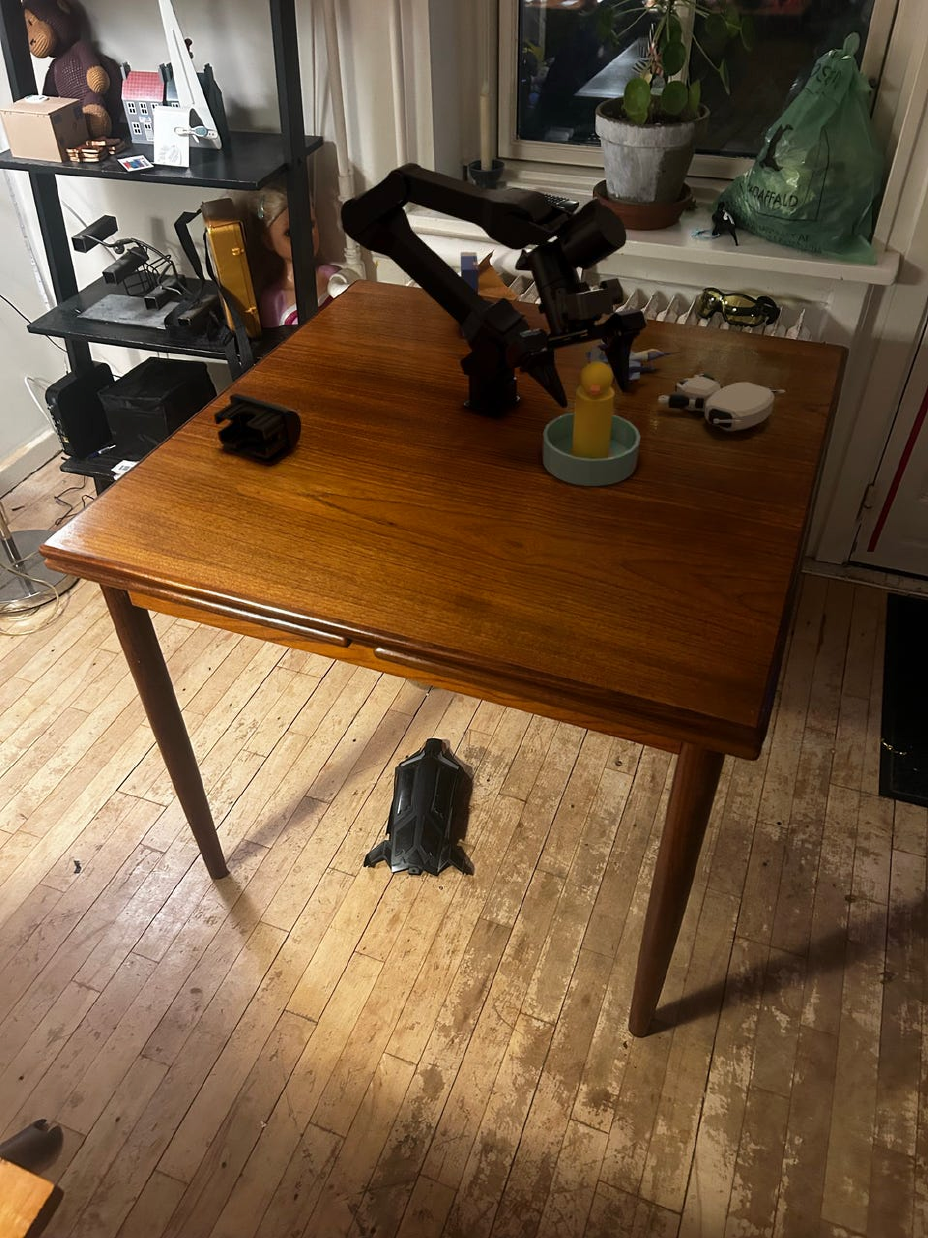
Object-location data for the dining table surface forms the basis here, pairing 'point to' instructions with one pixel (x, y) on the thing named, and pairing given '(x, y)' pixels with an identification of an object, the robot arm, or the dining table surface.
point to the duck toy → (593, 412)
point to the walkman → (469, 270)
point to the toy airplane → (634, 362)
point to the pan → (586, 469)
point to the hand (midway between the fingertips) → (596, 399)
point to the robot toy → (723, 401)
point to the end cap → (258, 429)
